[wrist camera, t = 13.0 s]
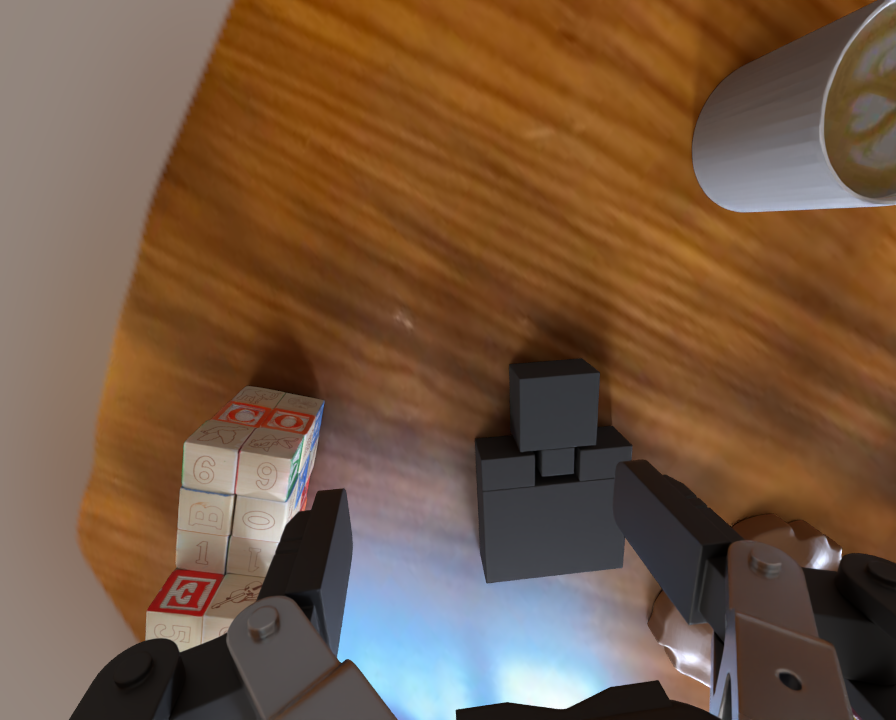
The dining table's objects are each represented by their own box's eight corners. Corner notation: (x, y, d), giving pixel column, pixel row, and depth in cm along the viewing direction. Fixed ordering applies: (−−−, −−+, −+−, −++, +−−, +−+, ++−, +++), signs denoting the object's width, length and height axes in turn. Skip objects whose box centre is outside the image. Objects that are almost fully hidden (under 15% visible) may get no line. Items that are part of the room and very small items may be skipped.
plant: (725, 698, 48) (814, 831, 38) (620, 616, 43) (688, 743, 33) (874, 589, 45) (1018, 701, 34) (779, 486, 40) (913, 580, 29)
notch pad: (480, 553, 39) (486, 583, 36) (474, 438, 36) (481, 460, 32) (605, 539, 40) (622, 568, 37) (612, 425, 36) (632, 445, 33)
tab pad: (510, 456, 37) (520, 479, 33) (509, 364, 34) (519, 379, 31) (578, 449, 37) (595, 471, 34) (582, 358, 34) (600, 372, 31)
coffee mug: (665, 175, 31) (780, 152, 21) (745, 28, 28) (915, -72, 19) (803, 253, 33) (960, 264, 24) (886, 125, 31) (1098, 80, 21)
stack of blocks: (244, 382, 33) (151, 468, 21) (326, 397, 34) (281, 489, 22) (218, 597, 39) (135, 759, 27) (289, 606, 39) (237, 766, 28)
